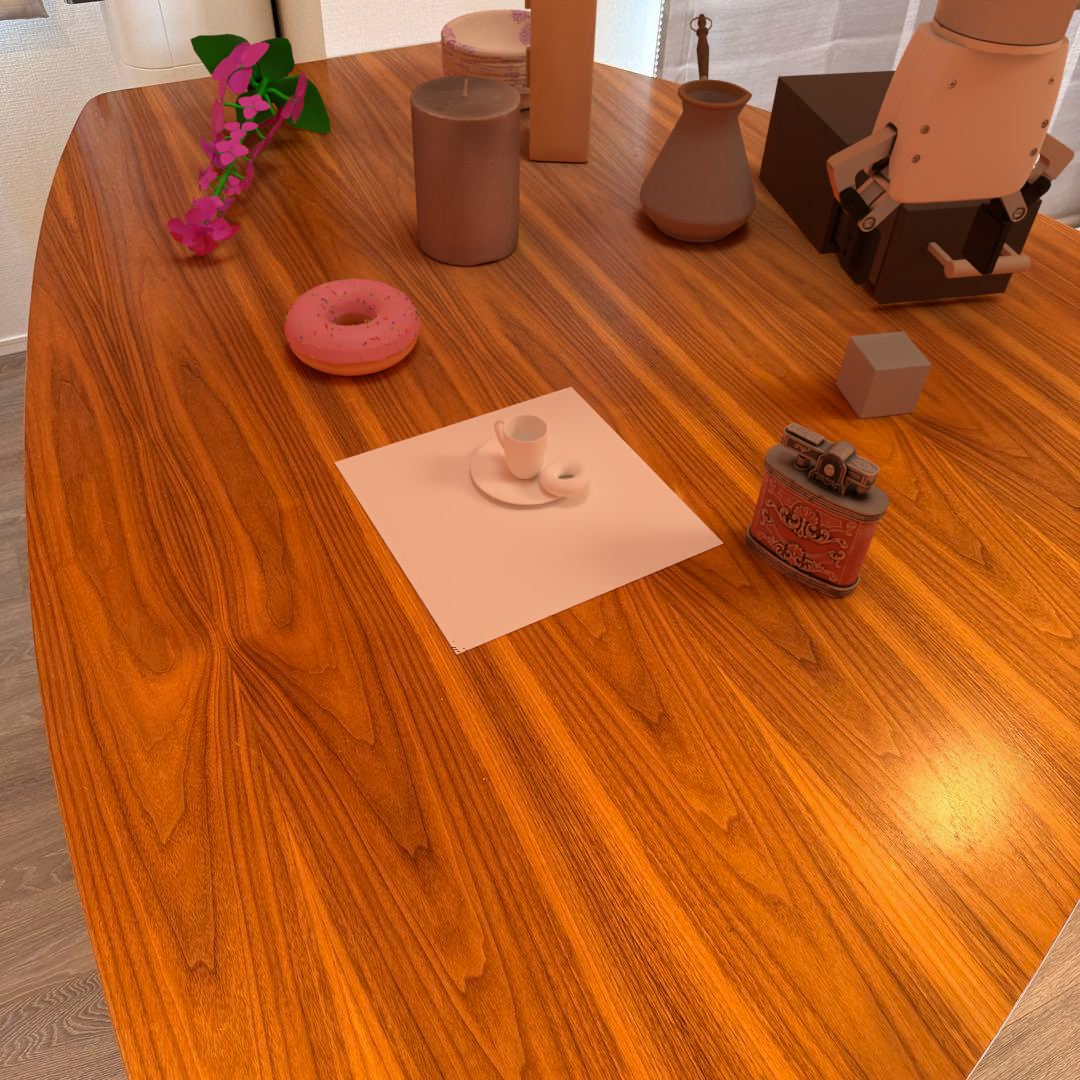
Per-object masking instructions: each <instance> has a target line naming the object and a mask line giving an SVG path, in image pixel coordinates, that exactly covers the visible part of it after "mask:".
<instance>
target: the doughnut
mask: <svg viewBox="0 0 1080 1080" xmlns="http://www.w3.org/2000/svg"><path fill="white" fill-rule="evenodd" d="M419 315H420V314H419V310H418V309H416V307H415V304H414V302H413V301H412V300H411V299H410V297H408V295H406V292H403V291H401V289H398V288H397V287H395V286H393V285H390V284H388V283H385V282H383V281H382V280H380V281H378V280H373V279H369V278H352V277H350V278H344V279H343V278H340V279H337V280H332V281H328V282H325V283H322V284H319V285H316V286H313V285H311V288H310V289H309V290H307V291H306V292H304V293H302V294H301V295H299V297H298V296H296V299H295V301H294V302H293V303H291V304H290V307H289V311H288V312H287V315H284V319H285V321H284V322H285V323H284V328H282V330H283V331H284V336H285V339H286V341H287V343H288V345H289V346H290V350H291V351H292V352H293V354H294V355H295V356H296V357H297V358H298V359H299V360H300V361H301V362H302V363H304V364H306V365H307V366H309V367H310V368H312V369H314V370H317V371H320V372H322V373H326V374H330V375H334V376H335V375H336V376H342V377H343V376H347V377H355V376H356V377H357V376H364V375H369V374H370V375H371V374H375V373H378V372H383V371H385V370H386V369H389V368H391V367H393V366H394V365H397V364H398V363H400V362H401V361H402V360H404V359H405V358H406V357H407V356H408V355H409V354H410V353H411V352H412V350H413V348H414V347H415V346H416V344H417V341H418V338H419V332H420V327H421V319H420V317H419Z"/></svg>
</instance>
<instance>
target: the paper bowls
mask: <svg viewBox="0 0 1080 1080" xmlns="http://www.w3.org/2000/svg"><path fill="white" fill-rule="evenodd" d="M440 38H441V39H440V44H441V47H440V48H441V61H442V62H441V63H442V68H443V69H442V70H443V71H442V72H443V76H444V78H445V77H453V76H475V77H484V78H490V79H493V80H497V81H500V82H503V83H506V84H508V85H510V86H512V87H514V88H515V89H516V90H517V92H518V93H519V95H520V97H521V99H520V100H521V110H520V111H524V110H528V109H530V88H527V87H526V47H530V38H531V10H523V9H490V10H480V11H474V12H470V13H466V14H462V15H460V16H457V17H455V18H453V19H451V20H449V21H448V22H447V23H446V24H444V26H443V27H442V29H441V31H440Z"/></svg>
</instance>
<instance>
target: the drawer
mask: <svg viewBox="0 0 1080 1080" xmlns="http://www.w3.org/2000/svg"><path fill="white" fill-rule="evenodd" d="M869 178H870V176H868V175H867V174H866V173H865V172H864V169H862V170H861V171H859V172H858V173H857V174H856V177H855V182H856V184H855V186H856V190H858V189H859V188H860V187H861V186H862V185H863V184H864V183H865V182H866V181H867V180H868V179H869ZM884 193H885V192H884V191H883V192H881V193H880V194H879V195H878V196H877V197H876V198H875V199H874V200H873V201H872V202H871V203H870V204H869V205H868V207H870V206H871V205H872V204H873V203H874V202H875V201H876V200H877V199H878V198H879V197H881V196H882V195H883V194H884ZM989 202H990V201H989V199H979V200H964V201H949V202H931V203H901V204H900V205H899V206H897V207H896V208H895V209H894V210H893V211H892V212H891V213H890V214H889V215H888V216H887V217H886V218H885V219H884V220H883V221H881V222H880V223H879V224H878V225H877V226H876V228H877V229H878V230H879V231H880V232H881V239H880V242H879V245H878V249H877V252H876V255H875V258H874V262H873V265H872V268H871V271H870V275H869V278H868V281H869V282H870V283H871V284H872V285H873V286H874V287H875V289H874V294H873V297H872V298H873V300H874V301H875V302H876V303H877V304H878V305H887V304H889V305H890V304H899V303H901V304H902V303H910V302H919V301H921V302H922V301H932V300H943V299H944V300H945V299H954V298H964V297H965V298H966V297H974V296H975V297H976V296H985V295H996V294H1005V293H1006V291H1007V288H1008V285H1009V283H1010V280H1011V278H1012V277H1013V274H1014V273H1025V272H1026V271H1027V272H1028V270H1029V269H1030V266H1031V258H1030V256H1029V255H1028V254H1025V253H1024V254H1022V251H1023V250H1024V247H1025V244H1026V242H1027V239H1028V238H1029V235H1030V232H1031V230H1032V227H1033V225H1034V222H1035V220H1036V217H1037V216H1038V213H1039V210H1040V208H1041V206H1042V203H1043V199H1041V197H1040V198H1039V199H1038V200H1036V201H1035V202H1034V203H1033V204H1031V205H1030V206H1029V207H1028V208H1027V213H1026V215H1025V216H1024V218H1023V219H1021V220H1020V221H1017V222H1013V224H1012V226H1011V229H1010V231H1009V234H1008V236H1007V239H1006V241H1005V244H1004V246H1003V249H1002V251H1001V253H1000V255H999V258H998V260H997V263H996V265H995V268H994V270H993V272H992V274H990V275H982V274H981V273H979V272H978V271H977V270H976V269H975V268H974V267H973V266H972V265H971V264H970V263H969V262H968V261H967V260H966V259H965V258H964V257H963V256H962V250H963V247H964V245H965V242H966V239H967V237H968V234H969V231H970V229H971V226H972V223H973V221H974V218H975V215H976V213H977V210H978V208H979V207H980V205H981V203H989ZM848 219H849V216H848V215H847V214H846V212H845V211H844V209H843V208H842V206H841V205H840V206H839V210H838V214H837V218H836V221H835V225H834V229H833V233H832V237H833V238H834V239H835V241H836V242H837V243H838V244H839V245H840V246H841V244H842V240H843V236H844V233H845V229H846V226H847V222H848Z"/></svg>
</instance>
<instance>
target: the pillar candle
mask: <svg viewBox="0 0 1080 1080" xmlns="http://www.w3.org/2000/svg"><path fill="white" fill-rule="evenodd" d="M520 99H521V97H520V95H519V93H518V92H517V90H516V89H515V88H514V87H512V86H510V85H508V84H506V83H503V82H500V81H497V80H493V79H490V78H484V77H475V76H453V77H445V76H444V77H437V78H434V79H430V80H427V81H425V82H422V83H420V84H418V85H417V86H416V87H414V89H413V90H412V91H411V94H410V98H409V100H410V117H411V135H412V156H413V170H414V172H413V174H414V188H415V189H414V190H415V206H416V207H415V208H416V224H417V225H416V226H417V227H416V228H417V241H418V246H419V248H420V249H421V251H422V252H423V253H424V254H425V255H426V256H428V257H430V258H432V259H434V260H436V261H439V262H441V263H446V264H448V265H453V266H461V267H472V266H477V265H480V264H484V263H490V262H495V261H500V260H503V259H505V258H507V257H509V256H511V254H513V253H514V251H515V250H516V249H517V246H518V243H519V231H520V230H519V229H520V228H519V227H520V204H521V203H520V202H521V201H520V195H521V194H520V171H521V170H520V168H521V164H520V162H521V161H520V159H521V111H522V110H521V100H520Z"/></svg>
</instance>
